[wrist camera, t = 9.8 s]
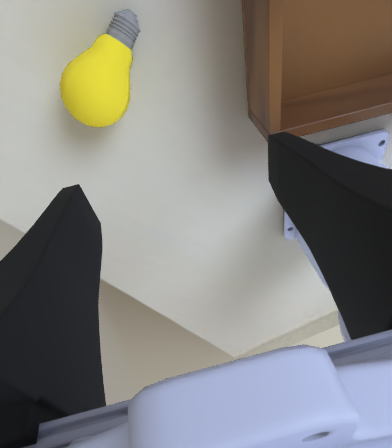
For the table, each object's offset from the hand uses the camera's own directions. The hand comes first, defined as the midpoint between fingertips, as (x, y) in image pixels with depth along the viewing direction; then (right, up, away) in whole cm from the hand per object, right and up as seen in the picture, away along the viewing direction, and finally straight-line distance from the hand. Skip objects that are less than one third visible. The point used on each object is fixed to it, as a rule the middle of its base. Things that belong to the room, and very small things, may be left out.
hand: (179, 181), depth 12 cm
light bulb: (-4, +7, +5) cm, 10 cm away
